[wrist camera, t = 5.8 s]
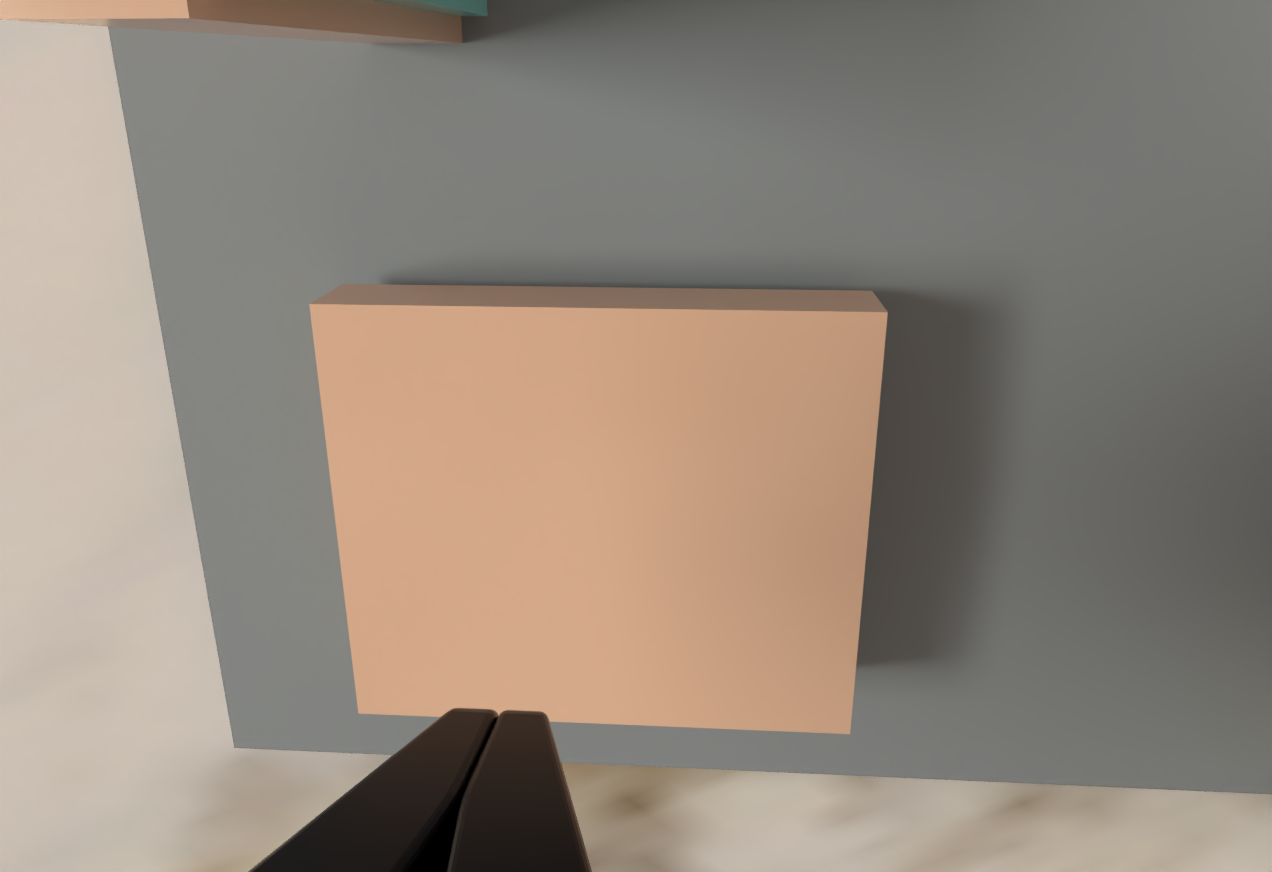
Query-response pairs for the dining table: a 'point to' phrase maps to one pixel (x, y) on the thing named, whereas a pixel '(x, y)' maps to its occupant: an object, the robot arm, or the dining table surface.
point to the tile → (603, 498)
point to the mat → (792, 260)
